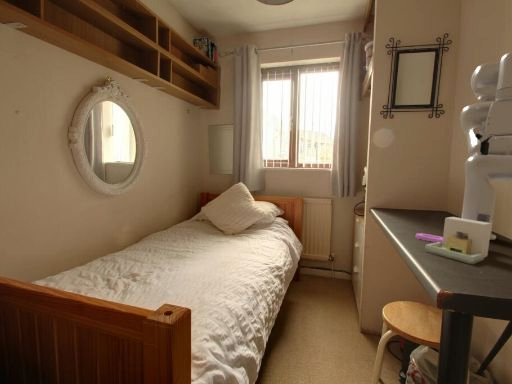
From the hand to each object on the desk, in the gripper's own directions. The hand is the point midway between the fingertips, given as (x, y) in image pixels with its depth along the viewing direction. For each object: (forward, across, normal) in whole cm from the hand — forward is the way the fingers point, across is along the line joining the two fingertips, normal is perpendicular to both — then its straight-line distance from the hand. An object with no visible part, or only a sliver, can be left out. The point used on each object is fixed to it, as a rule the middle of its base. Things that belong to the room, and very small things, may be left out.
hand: (504, 154), depth 80 cm
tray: (+30, +4, +15) cm, 34 cm away
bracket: (+31, +15, +2) cm, 34 cm away
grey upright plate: (+26, +4, +2) cm, 27 cm away
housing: (+30, +4, +8) cm, 32 cm away
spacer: (+30, +4, +13) cm, 32 cm away
